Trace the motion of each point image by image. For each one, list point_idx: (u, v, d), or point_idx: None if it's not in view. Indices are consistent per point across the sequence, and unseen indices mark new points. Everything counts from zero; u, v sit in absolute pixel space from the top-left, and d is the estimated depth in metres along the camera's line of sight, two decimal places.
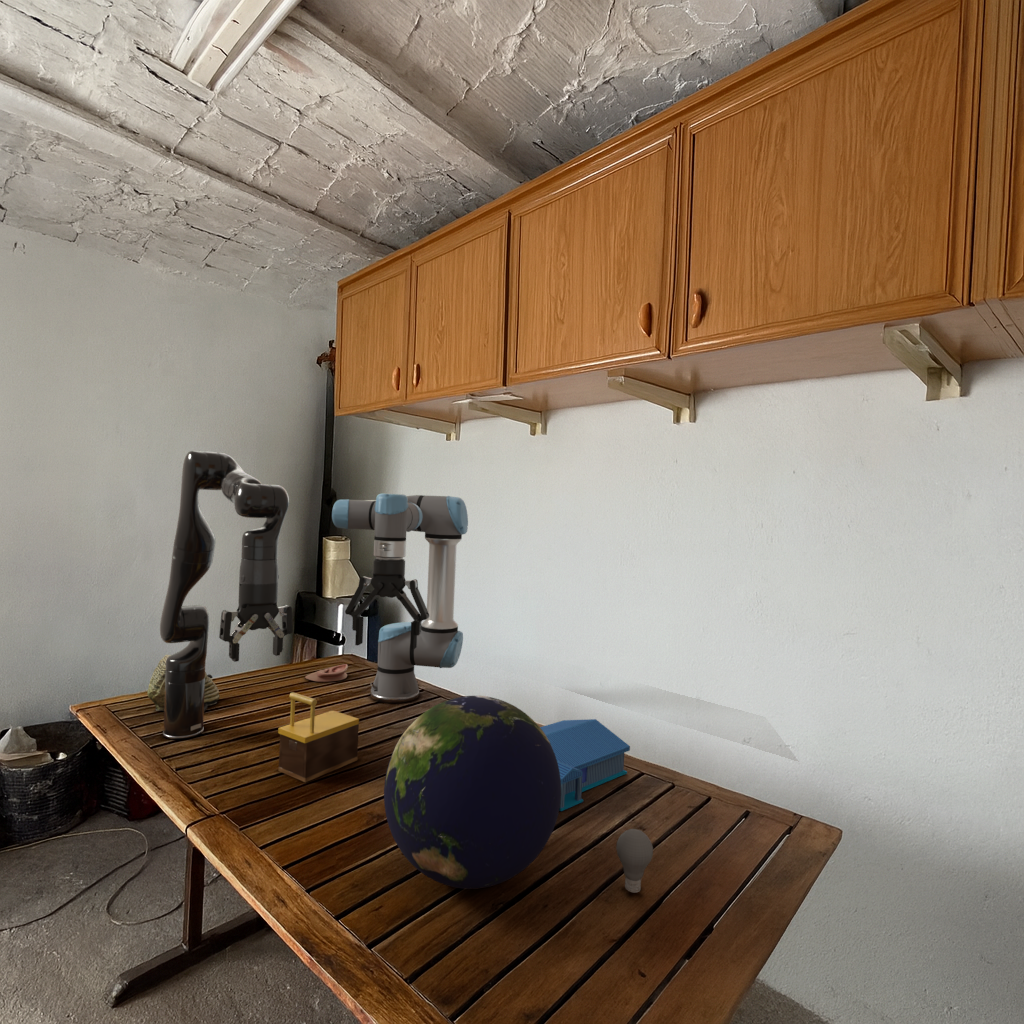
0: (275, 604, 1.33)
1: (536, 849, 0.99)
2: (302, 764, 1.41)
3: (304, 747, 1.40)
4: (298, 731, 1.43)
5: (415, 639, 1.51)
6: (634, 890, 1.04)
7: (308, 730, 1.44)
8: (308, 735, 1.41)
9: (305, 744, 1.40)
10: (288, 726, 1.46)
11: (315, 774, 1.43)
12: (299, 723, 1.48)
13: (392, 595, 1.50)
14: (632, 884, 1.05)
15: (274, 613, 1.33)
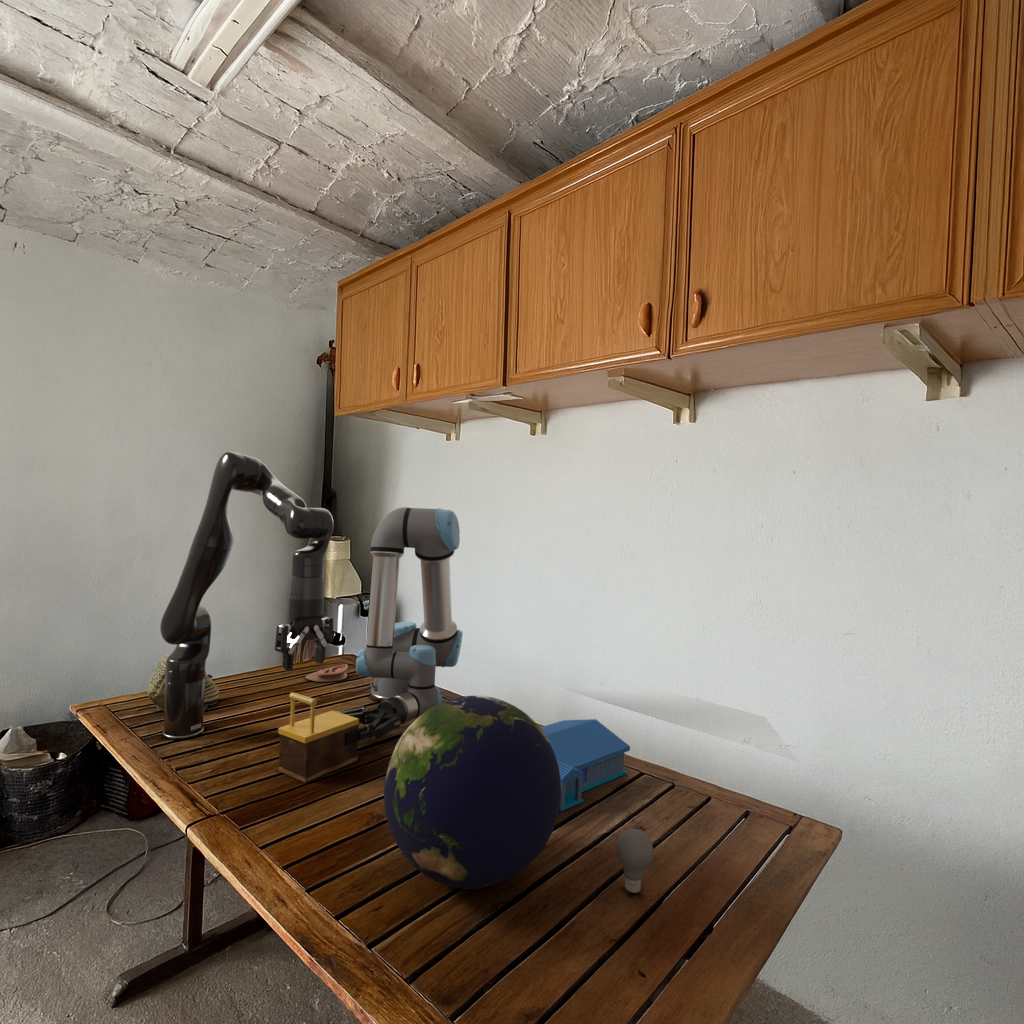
0: None
1: (536, 849, 0.99)
2: (302, 764, 1.41)
3: (304, 747, 1.40)
4: (298, 731, 1.43)
5: None
6: (634, 890, 1.04)
7: (308, 730, 1.44)
8: (308, 735, 1.41)
9: (305, 744, 1.40)
10: (288, 726, 1.46)
11: (315, 774, 1.43)
12: (299, 723, 1.48)
13: None
14: (632, 884, 1.05)
15: None
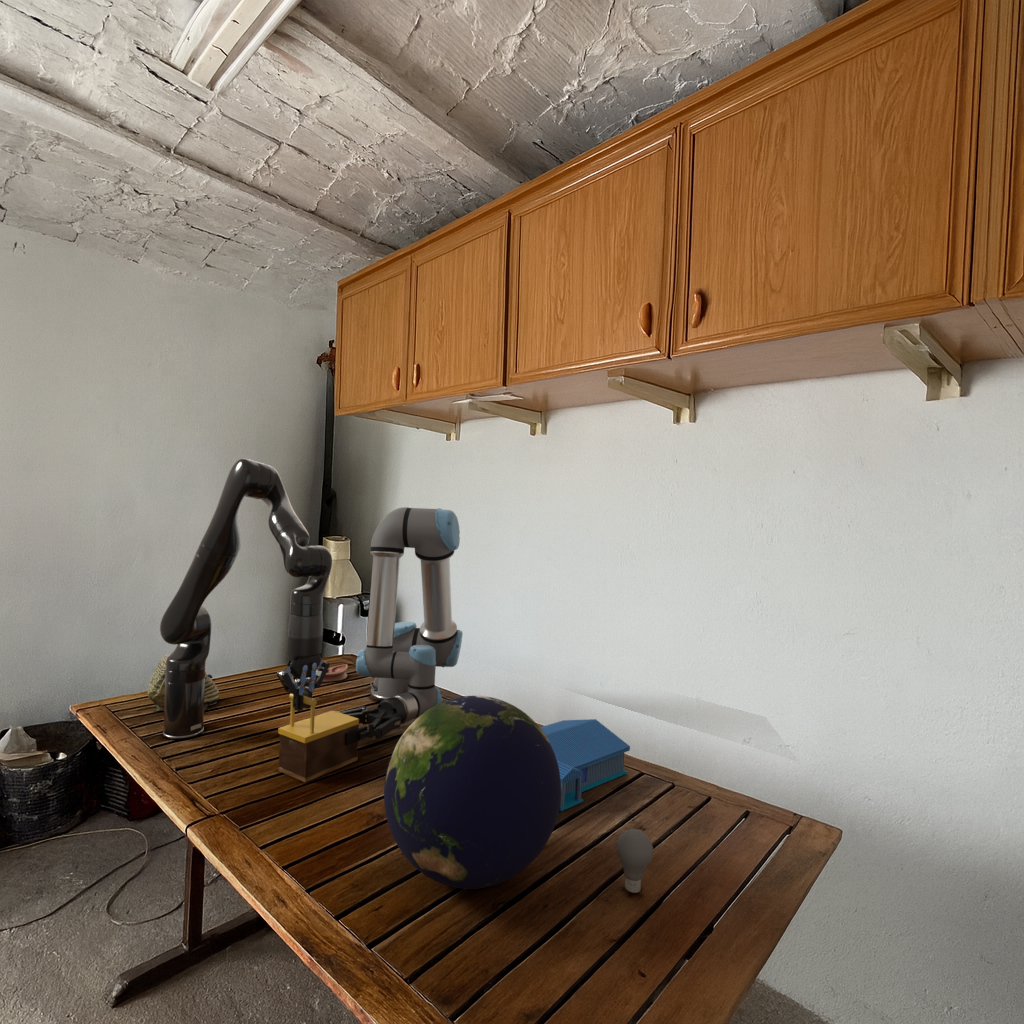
0: None
1: (536, 849, 0.99)
2: (302, 764, 1.41)
3: (304, 747, 1.40)
4: (298, 731, 1.43)
5: None
6: (634, 890, 1.04)
7: (308, 730, 1.44)
8: (308, 735, 1.41)
9: (305, 744, 1.40)
10: (288, 726, 1.46)
11: (315, 774, 1.43)
12: (299, 723, 1.48)
13: None
14: (632, 884, 1.05)
15: None
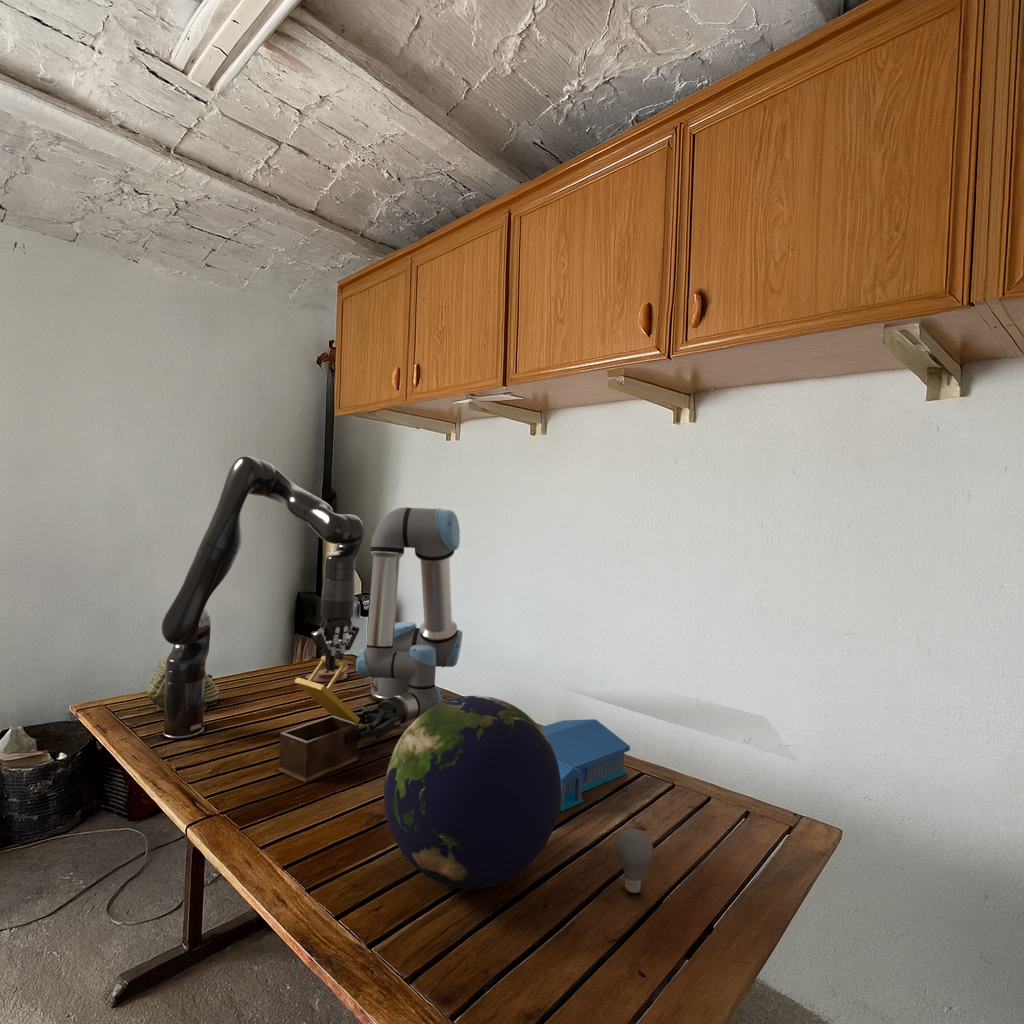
0: None
1: (536, 849, 0.99)
2: (302, 764, 1.41)
3: (304, 747, 1.40)
4: None
5: None
6: (634, 890, 1.04)
7: None
8: None
9: (305, 744, 1.40)
10: None
11: (315, 774, 1.43)
12: None
13: None
14: (632, 884, 1.05)
15: None
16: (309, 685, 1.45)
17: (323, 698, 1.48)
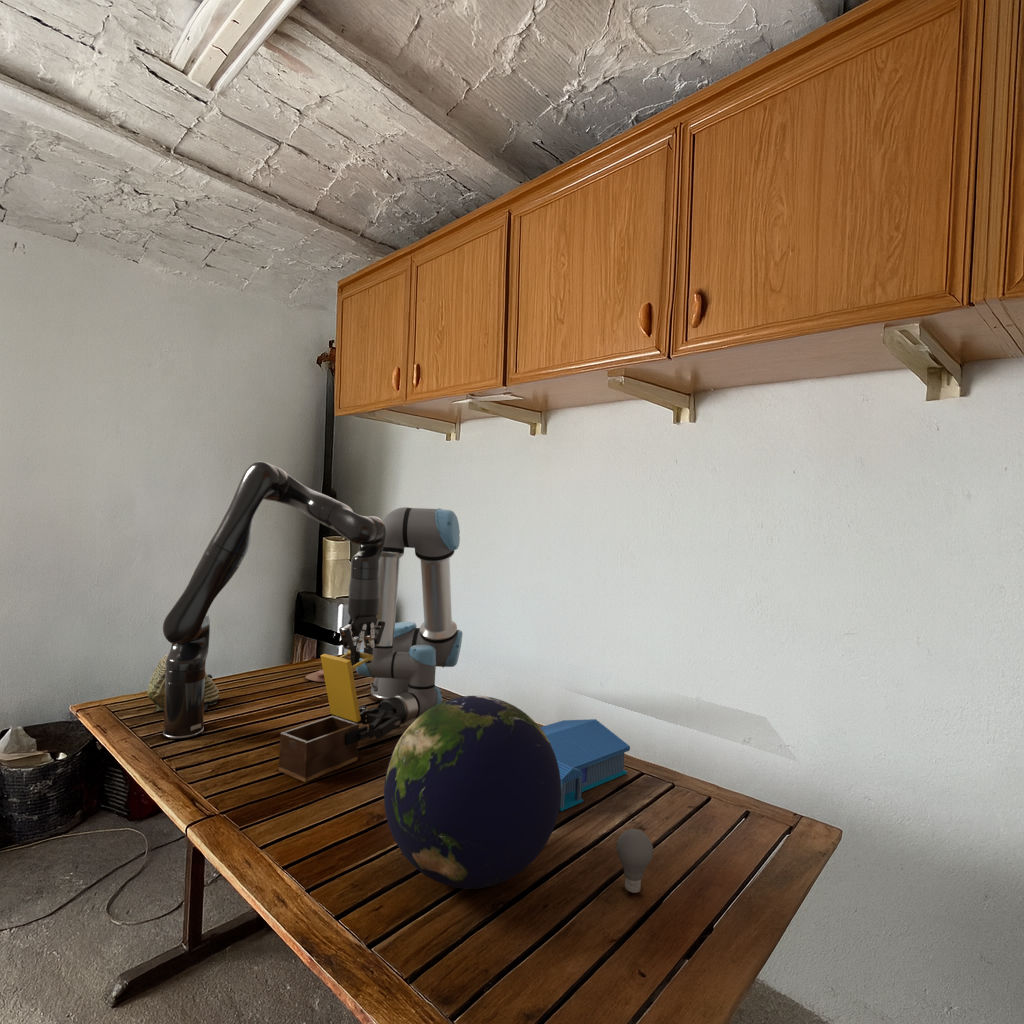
0: None
1: (536, 849, 0.99)
2: (302, 764, 1.41)
3: (304, 747, 1.40)
4: None
5: None
6: (634, 890, 1.04)
7: None
8: None
9: (305, 744, 1.40)
10: None
11: (315, 774, 1.43)
12: None
13: None
14: (632, 884, 1.05)
15: None
16: (335, 659, 1.51)
17: (340, 680, 1.52)
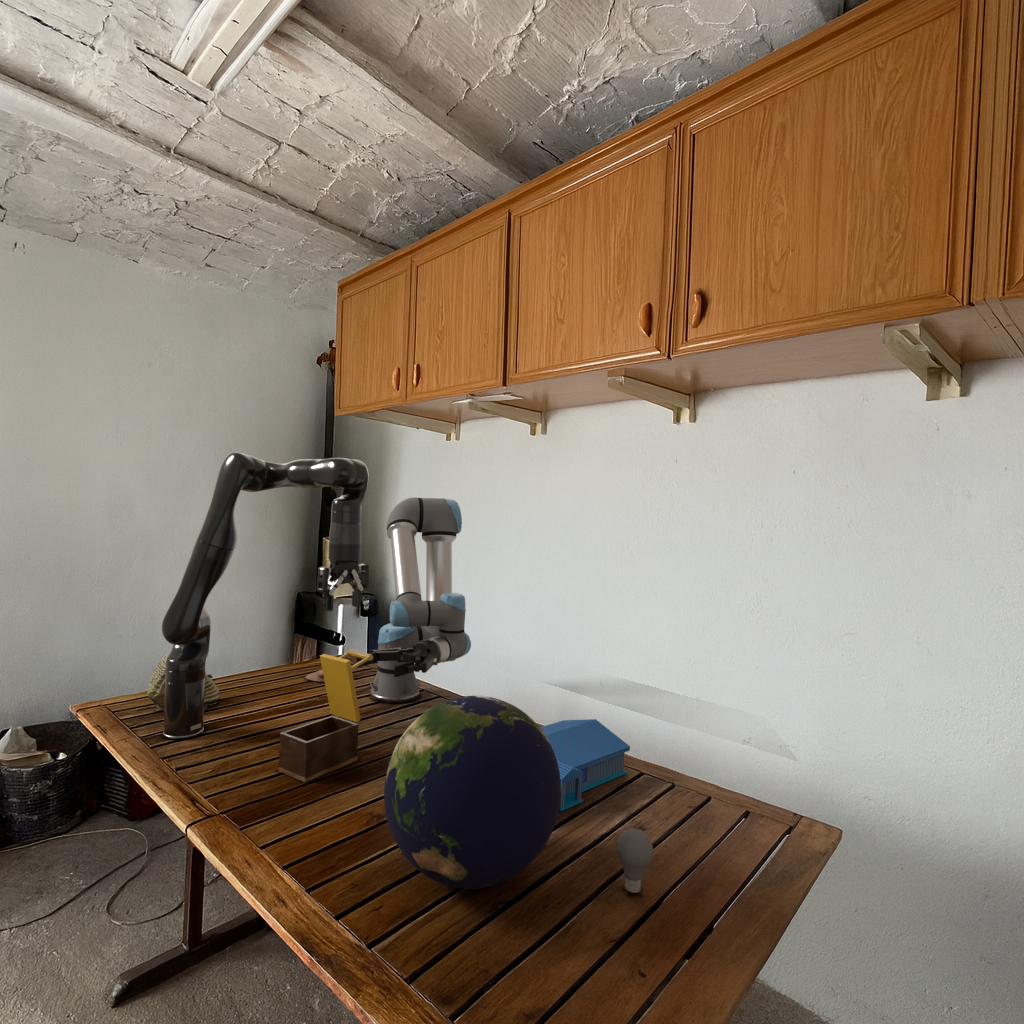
0: None
1: (536, 849, 0.99)
2: (302, 764, 1.41)
3: (304, 747, 1.40)
4: None
5: None
6: (634, 890, 1.04)
7: None
8: None
9: (305, 744, 1.40)
10: None
11: (315, 774, 1.43)
12: None
13: None
14: (632, 884, 1.05)
15: None
16: (335, 659, 1.51)
17: (339, 680, 1.52)
